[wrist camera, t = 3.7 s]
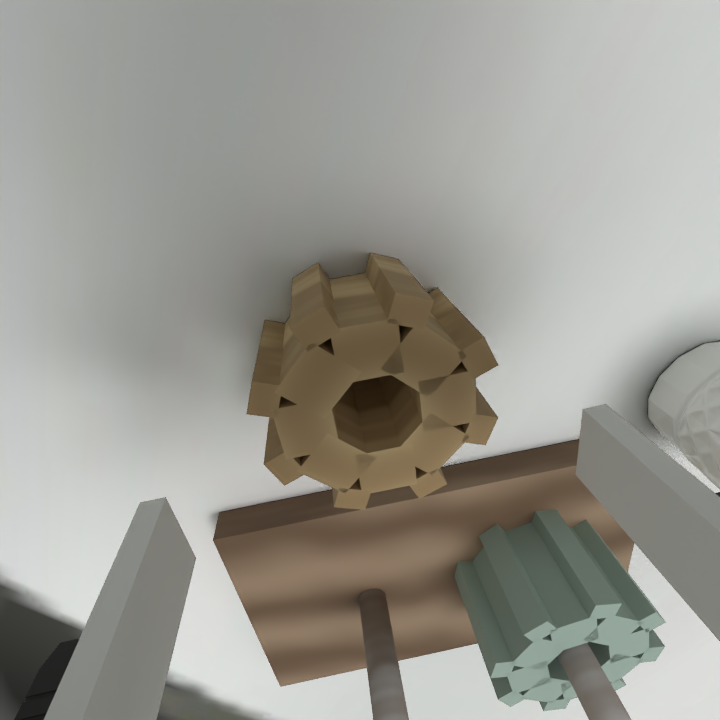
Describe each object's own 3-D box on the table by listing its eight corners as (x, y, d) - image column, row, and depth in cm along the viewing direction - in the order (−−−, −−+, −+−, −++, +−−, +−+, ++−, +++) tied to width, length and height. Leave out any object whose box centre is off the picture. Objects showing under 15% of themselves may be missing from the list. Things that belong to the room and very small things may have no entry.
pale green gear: (442, 542, 26) (477, 643, 21) (591, 492, 26) (667, 582, 20) (472, 625, 30) (507, 726, 25) (600, 583, 30) (663, 677, 25)
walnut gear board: (219, 512, 25) (167, 740, 16) (631, 428, 26) (823, 593, 17) (281, 657, 33) (272, 873, 23) (601, 587, 34) (722, 766, 24)
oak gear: (240, 276, 19) (217, 326, 14) (445, 238, 20) (498, 273, 14) (288, 441, 24) (284, 526, 18) (454, 408, 24) (498, 482, 19)
